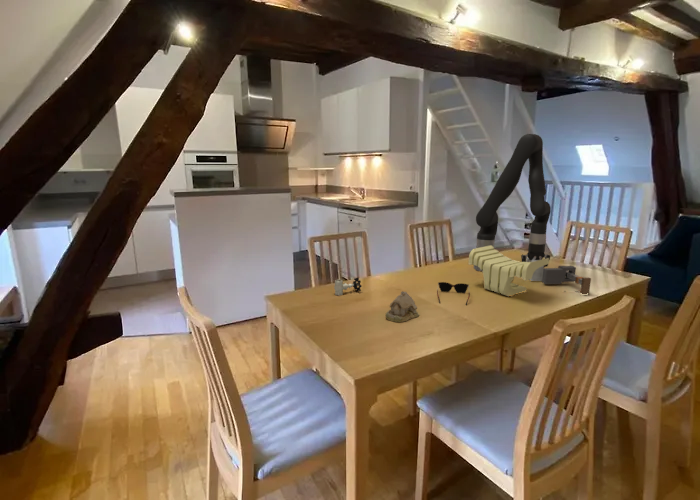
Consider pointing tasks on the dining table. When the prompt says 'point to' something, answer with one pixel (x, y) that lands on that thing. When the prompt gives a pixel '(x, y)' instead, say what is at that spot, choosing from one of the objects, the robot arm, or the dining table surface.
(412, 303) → the ceramic model
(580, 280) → the brown l-shaped piece
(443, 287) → the sunglasses
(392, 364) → the dining table surface
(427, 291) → the dining table surface
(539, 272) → the small box
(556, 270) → the collar
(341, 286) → the valve
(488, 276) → the slatted curved stool
